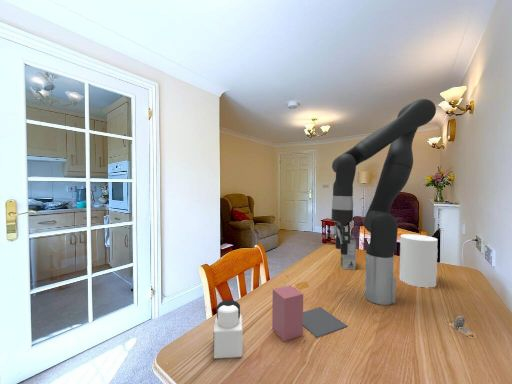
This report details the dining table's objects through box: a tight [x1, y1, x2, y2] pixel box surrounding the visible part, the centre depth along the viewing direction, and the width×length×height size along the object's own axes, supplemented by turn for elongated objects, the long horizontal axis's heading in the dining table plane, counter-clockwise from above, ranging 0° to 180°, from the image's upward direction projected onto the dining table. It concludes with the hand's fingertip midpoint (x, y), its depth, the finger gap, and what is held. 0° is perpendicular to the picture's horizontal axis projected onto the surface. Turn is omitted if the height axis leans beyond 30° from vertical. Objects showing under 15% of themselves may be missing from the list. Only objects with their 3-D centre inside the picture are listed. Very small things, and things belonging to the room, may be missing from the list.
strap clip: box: [453, 315, 474, 334], centre depth 70 cm, size 8×3×4 cm, turn 6°
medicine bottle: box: [213, 299, 243, 359], centre depth 61 cm, size 7×7×12 cm
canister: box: [399, 233, 439, 289], centre depth 104 cm, size 14×14×20 cm
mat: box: [303, 306, 348, 339], centre depth 74 cm, size 12×12×1 cm
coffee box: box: [340, 234, 357, 271], centre depth 123 cm, size 9×6×16 cm
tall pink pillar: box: [271, 284, 304, 342], centre depth 68 cm, size 6×6×12 cm
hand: (341, 251), depth 87 cm, fingers open, 8 cm apart
